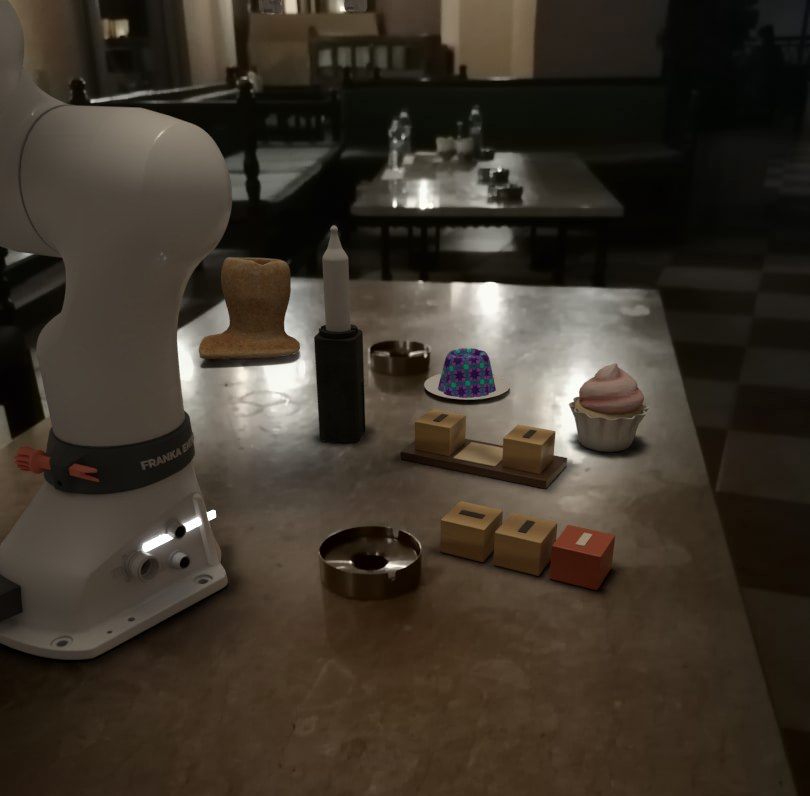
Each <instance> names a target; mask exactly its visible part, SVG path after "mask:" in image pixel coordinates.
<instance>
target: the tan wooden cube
mask: <svg viewBox="0 0 810 796" xmlns="http://www.w3.org/2000/svg"><path fill="white" fill-rule="evenodd" d="M558 524H559V523H558V522H557V521H553V520H548V519H544V518H539V517H536V516H530V515H526V514H523V513H518V512H512V513H511V514H510V515H509V516H508V517H507V519H506V520H505V521H503V522H502V525H501V526H500V527H499V528H498V529H497V530H496V532H495V539H494V551H493V566H496V567H500V568H503V569H504V568H505V569H509V570H512V571H517V572H520V573H521V572H522V573H525V574H528V575H533V576H537V577H539V576H541V574H542V572H543V571H544V570H545V568H546V567H547V566H548V564H549V563H551V551H552V545H553V544H554V542H555V541H556V540H557V535H558Z"/></svg>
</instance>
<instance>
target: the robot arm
mask: <svg viewBox="0 0 810 796" xmlns="http://www.w3.org/2000/svg"><path fill="white" fill-rule="evenodd" d="M257 2H258V11H259V13H260V14H261V15H280V14H281V13H282V10H283V7H282V4H281V3H282V0H258V1H257ZM343 7H344V11H345V12H347V13H365V12H367V10H368V0H344V3H343ZM24 58H25V35H24V29H23V25H22V22H21V20H20V17H19V15H18V13H17V11H16V10H15V7H14V6H13V5H12V3H11V2H10V1H9V0H0V247H1V248H4V249H6V250H10V251H11V252H16V253H21V254H22V253H23V254H30V255H38V256H45V257H55V258H62V261H63V264H64V269H65V291H64V292H65V293H64V299H63V304H62V309H61V312H60V313H58V314H57V315H55V316H54V317H53V318H51V320H50V321H48V322H47V323H46V324H45V325H44V327H43V328H42V329H41V331H40V333H39V335H38V337H37V341H36V357H37V361H38V365H39V371H40V376H41V380H42V385H43V390H44V395H45V400H46V404H47V409H48V414H49V418H50V423H51V426H50V429H49V431H48V436H47V442H46V451H44V450H42V449H36V448H35V449H34V448H33V447H30V446H22V447H20V448H19V449H17V451H16V455H15V456H14V460H15V461H14V463H15V465H16V467H17V469H19V470H20V471H24V472H31V473H33V474H36V475H40V474H42V473H43V478H44V481H43V482H42V484H41V485H40V487H39V488H38V490H37V491H36V492H35V494H34V496H33V497H32V499H31V500H30V501H29V503H28V504H27V506H26V508H25V509H24V510H23V512H22V514H21V515H20V516H19V518H18V519H17V521H16V522H15V524H14V525H13V526H12V528H11V529H10V531H8V533H7V535H5V538H4V539H3V540H2V541H1V543H0V644H1V645H3V646H6V647H8V648H10V649H13V650H17V651H19V652H23V653H26V654H29V655H32V656H37V657H41V658H46V659H47V658H48V659H54V660H66V661H67V660H68V661H69V660H70V661H77V660H78V661H80V660H90V659H94V658H96V657H99V656H100V655H103V654H104V653H106V652H108V651H110V650H112V649H114V648H116V647H117V646H119V645H121V644H123V643H125V642H126V641H128V640H130V639H132V638H134V637H136V636H137V635H139V634H141V633H143V632H145V631H147V630H149V629H151V628H152V627H154V626H156V625H158V624H159V623H161V622H163V621H165V620H167V619H169V618H171V617H173V616H174V615H176V614H178V613H180V612H182V611H183V610H185V609H188V608H189V607H191V606H193V605H195V604H196V603H198V602H200V601H202V600H204V599H206V598H207V597H209V596H211V595H213V594H215V593H217V592H219V591H220V590H223V589H224V588H225V587H226V586H227V585H228V583H229V579H228V576H227V572H226V569H225V568H224V566H223V564H222V563H221V562H222V550H221V547H220V545H219V543H218V541H217V539H216V537H215V535H214V532H213V529H212V527H211V523H210V521H212V520H213V519H215V518H217V513H216V510H214V509H212V510H210V511H207V507H206V504H205V501H204V496H203V493H202V490H201V488H200V485H199V481H198V479H197V475H196V472H195V467H194V463H193V460H194V458H195V456H196V450H195V449H196V448H195V433H194V432H193V428H192V422H191V417H190V415H189V413H188V412H187V411H186V410H185V406H184V399H183V391H182V380H181V371H180V360H179V346H178V327H179V324H178V323H179V317H180V316H179V315H180V311H181V305H182V302H183V301H182V300H183V297H184V293H185V291H186V288H187V287H188V286H187V285H188V283H189V280H190V278H191V277H192V274H193V273H194V272H195V270H196V268H197V267H198V266H199V264H200V263H201V262H202V261H203V260H205V258H207V257H208V256H209V255H210V254H211V253H212V252H213V251H214V250H215V249H216V247H218V245H219V243H220V242H221V241H222V238H223V237H224V235H225V232H226V230H227V228H228V224H229V221H230V219H231V218H230V217H231V213H232V207H233V185H232V180H231V175H230V172H229V168H228V165H227V163H226V160H225V157H224V155H223V154H222V152H221V150H220V148H219V146H218V145H217V143H216V141H215V140H214V139H213V137H212V136H210V134H209V133H208V132H206V131H205V130H204V129H203V128H202V127H200V126H199V125H196V124H194V123H191V122H188V121H185V120H183V119H180V118H178V117H174V116H171V115H167V114H164V113H162V112H157V111H155V110H151V109H147V108H143V107H130V106H99V105H77V104H69V103H66V102H64V101H61V100H59V99H58V98H56V97H53V96H51V95H50V94H48V93H47V92H45V91H44V90H42V88H40V87H39V86H38V85H37V84H36V83H35V82H34V81H33V79H32V78H31V77H30V75H29V74H28V72H27V71H26V70H25V68H24Z"/></svg>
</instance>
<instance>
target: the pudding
mask: <svg viewBox="0 0 810 796" xmlns="http://www.w3.org/2000/svg"><path fill="white" fill-rule="evenodd" d="M423 387H424V388H425V390H427V392H429V393H431V394H433V395H436V396H438V397H442V398H445V399H453V400H461V401H463V400H465V401H470V400H471V401H472V400H473V401H475V400H484V399H490V398H494V397H498V396H500V395H502V394H505V393H506V392H507V391H508V390H509V389H510V387H511V384H510V382H509V381H508V380H507V379H506V378H504V377H502V376H500V375H497V374H494V373H493V369H492V365H491V359H490V357H489V355H488V353H487V352H486V351H484V350H482V349H478V348H474V347H473V348H472V347H471V348H464V347H463V348H458V349H453V350H451V351H449V352H448V353H447V355H446V356H445V359H444V363H443V367H442V370H441V373H438V374H435V375H432V376H430V377H429V378H427V379H426V380H425V381H424V383H423Z"/></svg>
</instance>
